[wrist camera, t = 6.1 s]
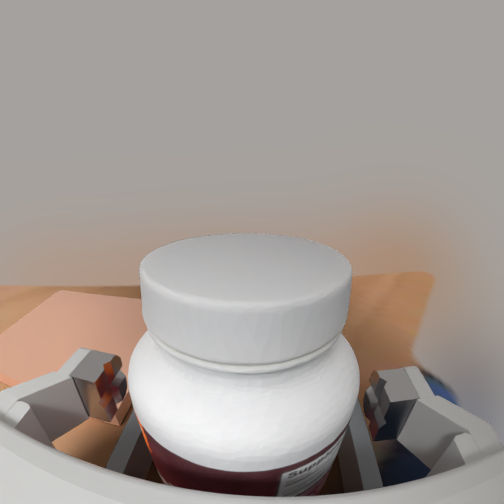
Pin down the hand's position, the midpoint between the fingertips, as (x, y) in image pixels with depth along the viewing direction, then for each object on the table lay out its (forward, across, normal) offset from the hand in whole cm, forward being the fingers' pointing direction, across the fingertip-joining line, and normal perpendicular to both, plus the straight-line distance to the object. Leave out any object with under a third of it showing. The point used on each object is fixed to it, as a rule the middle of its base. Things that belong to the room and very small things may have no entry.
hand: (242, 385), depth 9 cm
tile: (+9, +14, +7) cm, 18 cm away
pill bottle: (-1, 0, +7) cm, 7 cm away
